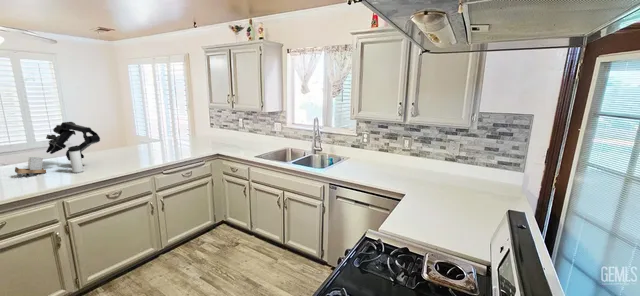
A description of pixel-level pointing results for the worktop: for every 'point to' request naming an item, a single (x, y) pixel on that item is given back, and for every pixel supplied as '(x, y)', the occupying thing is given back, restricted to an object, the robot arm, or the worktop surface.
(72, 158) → the travel mug
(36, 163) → the block
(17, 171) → the walnut beam
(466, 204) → the worktop surface
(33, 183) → the worktop surface
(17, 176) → the pivot stand
